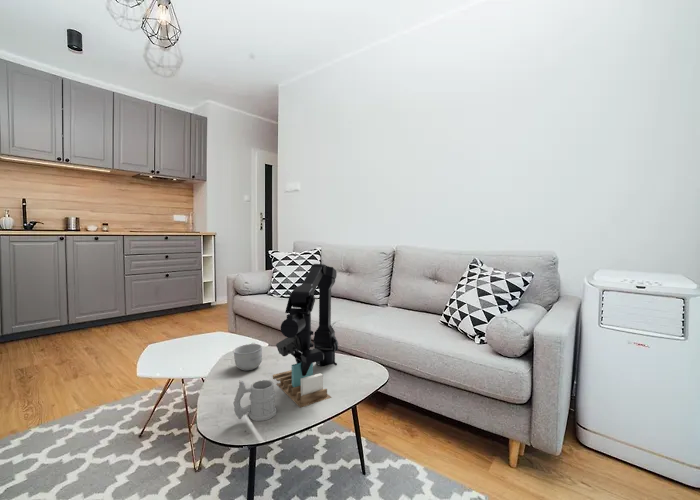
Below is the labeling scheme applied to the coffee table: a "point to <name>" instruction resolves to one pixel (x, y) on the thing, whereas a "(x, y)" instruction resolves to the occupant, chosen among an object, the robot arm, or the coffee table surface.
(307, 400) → the rack
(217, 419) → the coffee table surface
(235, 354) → the teacup
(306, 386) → the cream plate
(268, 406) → the mug
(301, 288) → the robot arm
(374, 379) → the coffee table surface
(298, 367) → the teal rectangular prism
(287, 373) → the wooden slats
